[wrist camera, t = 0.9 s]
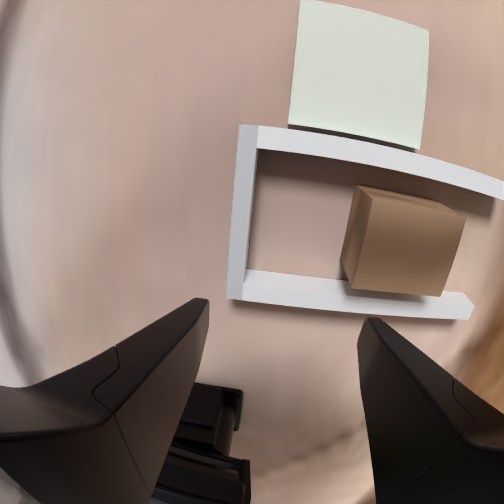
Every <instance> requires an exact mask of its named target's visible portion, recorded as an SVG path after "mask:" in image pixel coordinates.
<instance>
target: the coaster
mask: <svg viewBox="0 0 504 504" xmlns="http://www.w3.org/2000/svg"><path fill="white" fill-rule="evenodd" d="M428 51H429V30H426V29H423V28H421V27H418V26H415V25H412V24H409V23H406V22H403V21H400V20H397V19H394V18H390V17H387V16H384V15H380V14H376V13H373V12H369V11H365V10H361V9H356V8H352V7H347V6H343V5H338V4H332V3H327V2H321V1H315V0H300V5H299V16H298V27H297V37H296V48H295V58H294V68H293V78H292V87H291V97H290V106H289V115H288V124H293V125H300V126H307V127H314V128H320V129H326V130H332V131H338V132H344V133H349V134H354V135H359V136H364V137H369V138H374V139H378V140H383V141H387V142H391V143H395V144H399V145H403V146H407V147H411V148H415V149H419V148H420V142H421V135H422V127H423V119H424V110H425V100H426V89H427V74H428Z"/></svg>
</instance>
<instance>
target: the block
mask: <svg viewBox="0 0 504 504" xmlns="http://www.w3.org/2000/svg"><path fill="white" fill-rule="evenodd" d="M465 221H466V218H464V217H463V216H461V215H459V214H458V213H456V212H455V211H453V210H451V209H450V208H448V207H446V206H445V205H443V204H441V203H440V202H438V201H435V200H431V199H426V198H422V197H417V196H413V195H408V194H403V193H399V192H394V191H389V190H384V189H379V188H373V187H368V186H363V185H357V184H355V188H354V193H353V199H352V204H351V209H350V214H349V219H348V224H347V229H346V234H345V239H344V243H343V248H342V252H341V257H340V260H341V263H342V265H343V268H344V270H345V273H346V275H347V278H348V280H349V283H350V285H351V288H354V289H363V290H373V291H383V292H393V293H403V294H413V295H424V296H435V297H441V294H442V292H443V289H444V286H445V284H446V281H447V278H448V275H449V273H450V270H451V267H452V264H453V261H454V258H455V255H456V252H457V249H458V245H459V242H460V239H461V235H462V232H463V228H464V225H465Z"/></svg>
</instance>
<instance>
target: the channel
mask: <svg viewBox="0 0 504 504" xmlns="http://www.w3.org/2000/svg"><path fill="white" fill-rule="evenodd" d="M259 148H261V149H270V150H279V151H287V152H294V153H302V154H309V155H315V156H322V157H328V158H334V159H340V160H346V161H352V162H357V163H362V164H368V165H373V166H378V167H382V168H387V169H392V170H396V171H401V172H405V173H409V174H414V175H418V176H422V177H426V178H430V179H434V180H438V181H441V182H445V183H449V184H452V185H456V186H460V187H463V188H466V189H470V190H473V191H476V192H480V193H483V194H486V195H489V196H492V197H495V198H498V199H501V200H504V182H503V181H501V180H498V179H496V178H493V177H490V176H487V175H485V174H482V173H479V172H476V171H473V170H470V169H467V168H464V167H461V166H458V165H454V164H451V163H448V162H444V161H441V160H438V159H434V158H431V157H427V156H423V155H420V154H416V153H412V152H408V151H404V150H400V149H396V148H392V147H387V146H383V145H378V144H374V143H369V142H364V141H359V140H354V139H349V138H344V137H338V136H332V135H326V134H320V133H314V132H307V131H300V130H293V129H285V128H276V127H267V126H258V125H247V124H240V125H239V136H238V147H237V158H236V169H235V181H234V193H233V205H232V218H231V231H230V244H229V258H228V273H227V288H226V298H229V299H237V300H244V301H252V302H260V303H268V304H276V305H285V306H294V307H303V308H312V309H322V310H332V311H342V312H354V313H365V314H378V315H391V316H406V317H422V318H440V319H463V320H468V319H469V317H470V315H471V313H472V310H473V308H474V305H473V304H472V303H471V302H470V300H469V299H468V298H467V297H466V296H465V295H464V293H459V292H449V291H443V292H442V294H441V297H435V296H424V295H413V294H403V293H393V292H383V291H373V290H363V289H354V288H351V285H350V283H349V281H344V280H335V279H326V278H318V277H309V276H301V275H292V274H284V273H276V272H268V271H260V270H252V269H247V261H248V251H249V241H250V231H251V221H252V211H253V201H254V191H255V181H256V171H257V161H258V152H259Z"/></svg>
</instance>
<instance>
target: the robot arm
mask: <svg viewBox="0 0 504 504" xmlns="http://www.w3.org/2000/svg"><path fill="white" fill-rule="evenodd" d="M208 327H209V300H208V299H203V298H194V299H192V300H190V301H189V302H187V303H185V304H184V305H182V306H180V307H178V308H177V309H175V310H173V311H172V312H170V313H168V314H167V315H165V316H163V317H162V318H160V319H158V320H157V321H155V322H153V323H152V324H150V325H148V326H147V327H145V328H143V329H142V330H140V331H138V332H136V333H135V334H133V335H131V336H130V337H128V338H126V339H125V340H123V341H121V342H120V343H118V344H116V345H115V346H113V347H111V348H109V349H108V350H106V351H104V352H102V353H101V354H99V355H97V356H95V357H93V358H91V359H90V360H88V361H86V362H83V363H81V364H79V365H77V366H75V367H73V368H71V369H69V370H66V371H64V372H62V373H60V374H57V375H55V376H53V377H51V378H48V379H46V380H44V381H42V382H39V383H37V384H34V385H32V386H28V387H21V388H12V387H5V386H0V504H250V501H251V481H250V460H246V459H243V460H242V459H238V458H233V457H229V453H230V447H231V441H232V435H233V431H237V430H238V429H239V422H240V414H241V406H242V398H243V392H242V391H241V390H238V389H232V388H225V387H219V386H212V385H206V384H201V383H195V379H196V376H197V373H198V370H199V366H200V362H201V358H202V353H203V349H204V345H205V341H206V336H207V332H208ZM357 350H358V363H359V378H360V389H361V396H362V401H363V407H364V413H365V419H366V426H367V432H368V439H369V446H370V453H371V461H372V469H373V477H374V486H375V496H376V504H504V414H503V413H501V412H500V411H499V410H497V409H496V408H494V407H493V406H491V405H490V404H488V403H487V402H486V401H484V400H483V399H481V398H480V397H479V396H477V395H476V394H474V393H473V392H472V391H471V390H469V389H468V388H467V387H466V386H464V385H463V384H462V383H461V382H459V381H458V380H457V379H456V378H454V379H453V376H452V375H451V374H449V373H448V372H447V371H446V370H444V369H443V368H442V367H441V366H439V365H438V364H437V363H436V362H434V361H433V360H432V359H431V358H429V357H428V356H427V355H426V354H424V353H423V352H422V351H421V350H419V349H418V348H417V347H415V346H414V345H413V344H412V343H410V342H409V341H408V340H407V339H405V338H404V337H403V336H401V335H400V334H399V333H398V332H396V331H395V330H394V329H393V328H391V327H390V326H389V325H387V324H386V323H385V322H383V321H382V320H381V319H379V318H371V317H368V318H366V319H365V321H364V324H363V326H362V329H361V332H360V335H359V338H358V342H357Z"/></svg>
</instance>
